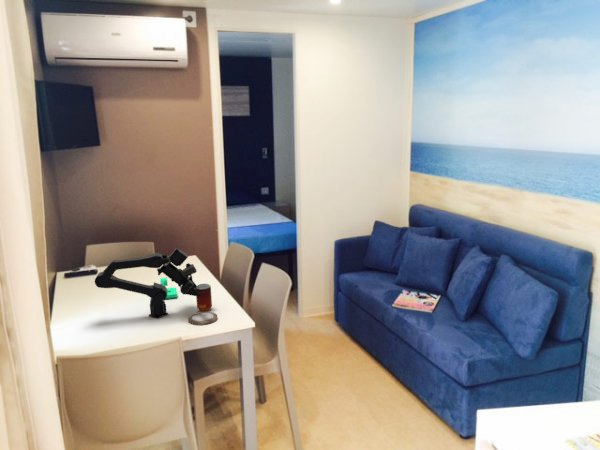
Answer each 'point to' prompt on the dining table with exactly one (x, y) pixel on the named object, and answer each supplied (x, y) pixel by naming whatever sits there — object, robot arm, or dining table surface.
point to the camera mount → (170, 291)
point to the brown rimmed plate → (202, 318)
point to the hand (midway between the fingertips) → (199, 293)
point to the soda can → (204, 297)
